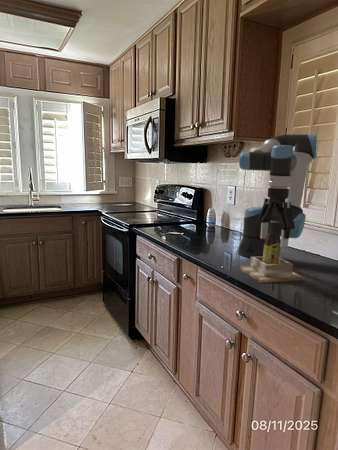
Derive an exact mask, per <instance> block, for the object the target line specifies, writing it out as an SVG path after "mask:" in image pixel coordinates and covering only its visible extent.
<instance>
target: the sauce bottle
mask: <svg viewBox="0 0 338 450" xmlns="http://www.w3.org/2000/svg"><path fill="white" fill-rule="evenodd" d="M280 225H281V222H279V221H270V229H269V233H268V235H267V236H266V238H265V244H264V251H263V259H262V262H264V263H266V264H279V258H281V257H280V256H281V249H282V247H280V243H281V237H280V235H279V230H280Z"/></svg>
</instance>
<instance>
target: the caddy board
mask: <svg viewBox="0 0 338 450" xmlns="http://www.w3.org/2000/svg"><path fill="white" fill-rule="evenodd" d="M262 259H263V256H259V257H251V258H250V260H249V261H250V262H249V265H239V270H240V271H242V272H243V273H245V274H247V275H248V276H249V277H252V279H254V280H255V281H257V282H259V283H261V284H262V283H278V282H293V281H303V279H304V277H303V276H302V275H300V274H298V273H296V272H294V271H293V270H294V264H293V263H292V262H290V261H288V260H285V259H283V258H281V257H280V258H279V264H266V263H264V262H262Z"/></svg>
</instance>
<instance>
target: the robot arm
mask: <svg viewBox="0 0 338 450" xmlns="http://www.w3.org/2000/svg"><path fill="white" fill-rule="evenodd" d="M316 144H317V136H316V135H315V134H312V133H305V134H279V135H277V136H273V137H271V138H268V139H267V140H265V141H264V142H263V144H261V146H259V147H257V148H256V149H254V150H253V151H243V152H241V154H240V155H239V160H238V164H239V165H238V166H239V168H240V169H241V170H242V171H263V172H265V171H266V172H267V171H268V172H269V177H268V186H269V187H268V188H267V197H266V198H264V202H263V205H262V206H254V207H248V208H246V209H245V211H244V217H243V230H242V239H241V241H240V243H239V245H238V247H237V254H238V255H240V256H241V257H245V258H250V259H251V257H259V256H263V251H264V244H265V238H266V236H267V235H268V233H269V229H270V221H279V222H281V225H280V230H279V235H280V239H281V243H280V247H281V248H288V247H289V239H298V238H299V237H301V235H302V233H303V230H304V227H305V223H306V213H305V212H304V210H303V208H302V207H301V205H302V199H303V194H304V189H305V184H306V178H307V174H308V173H307V172H308V167H309V165H310V164H312V162H313V160H315V158H317V153H316ZM308 154H309V155H308Z"/></svg>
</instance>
